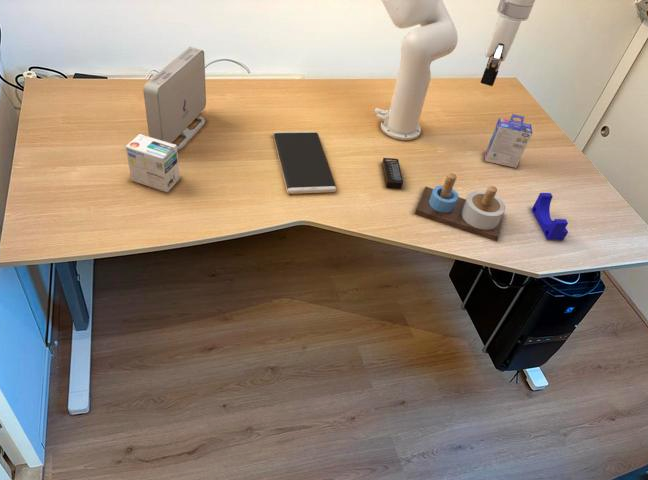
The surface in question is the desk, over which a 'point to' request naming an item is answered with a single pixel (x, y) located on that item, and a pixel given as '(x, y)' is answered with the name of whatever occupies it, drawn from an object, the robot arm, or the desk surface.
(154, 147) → the light bulb box
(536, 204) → the cable clip
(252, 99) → the desk surface
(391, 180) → the multiport hub
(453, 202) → the tape roll
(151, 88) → the network device
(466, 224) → the tape stand
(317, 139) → the smartphone
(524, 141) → the ink cartridge box
